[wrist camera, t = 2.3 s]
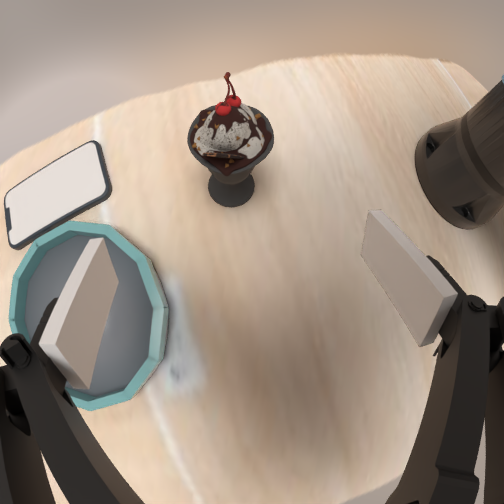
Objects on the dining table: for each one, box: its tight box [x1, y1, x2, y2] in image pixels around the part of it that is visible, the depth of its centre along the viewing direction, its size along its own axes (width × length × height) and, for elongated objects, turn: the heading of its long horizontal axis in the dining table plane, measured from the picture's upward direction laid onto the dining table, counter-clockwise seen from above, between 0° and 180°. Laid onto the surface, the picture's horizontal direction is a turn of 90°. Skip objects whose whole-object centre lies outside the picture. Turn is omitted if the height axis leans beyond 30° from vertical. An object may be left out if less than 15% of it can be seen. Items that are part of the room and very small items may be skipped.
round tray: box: [9, 221, 169, 411], centre depth 27 cm, size 19×19×3 cm
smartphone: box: [4, 140, 112, 250], centre depth 30 cm, size 9×2×16 cm
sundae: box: [188, 72, 274, 207], centre depth 24 cm, size 7×7×15 cm
